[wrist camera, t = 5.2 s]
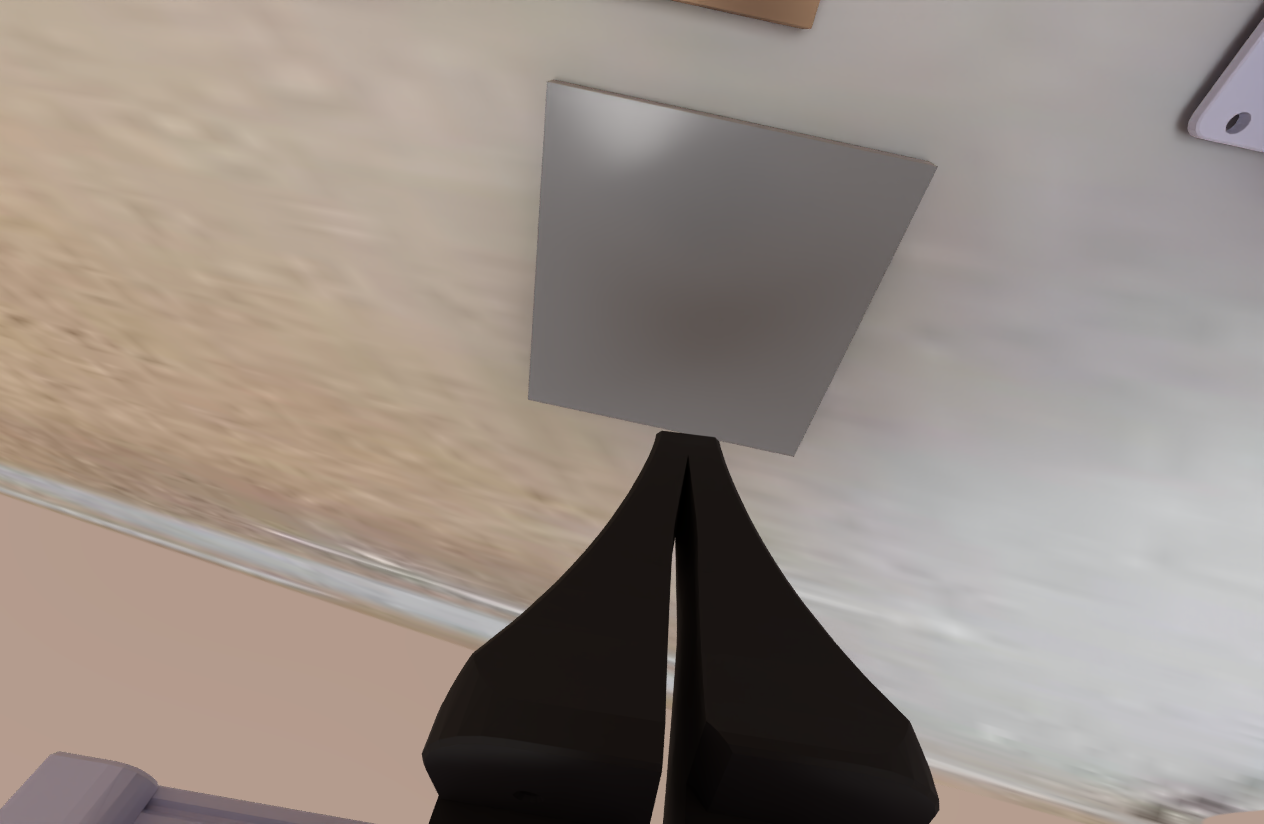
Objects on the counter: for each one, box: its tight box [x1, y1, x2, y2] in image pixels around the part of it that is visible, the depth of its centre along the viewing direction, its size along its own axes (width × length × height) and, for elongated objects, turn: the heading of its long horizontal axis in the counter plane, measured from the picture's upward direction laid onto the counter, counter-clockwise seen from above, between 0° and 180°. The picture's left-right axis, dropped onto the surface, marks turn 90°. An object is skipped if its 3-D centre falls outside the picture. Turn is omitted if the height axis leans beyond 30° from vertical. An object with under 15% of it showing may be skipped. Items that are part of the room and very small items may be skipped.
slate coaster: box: [528, 80, 937, 457], centre depth 19 cm, size 12×12×1 cm
